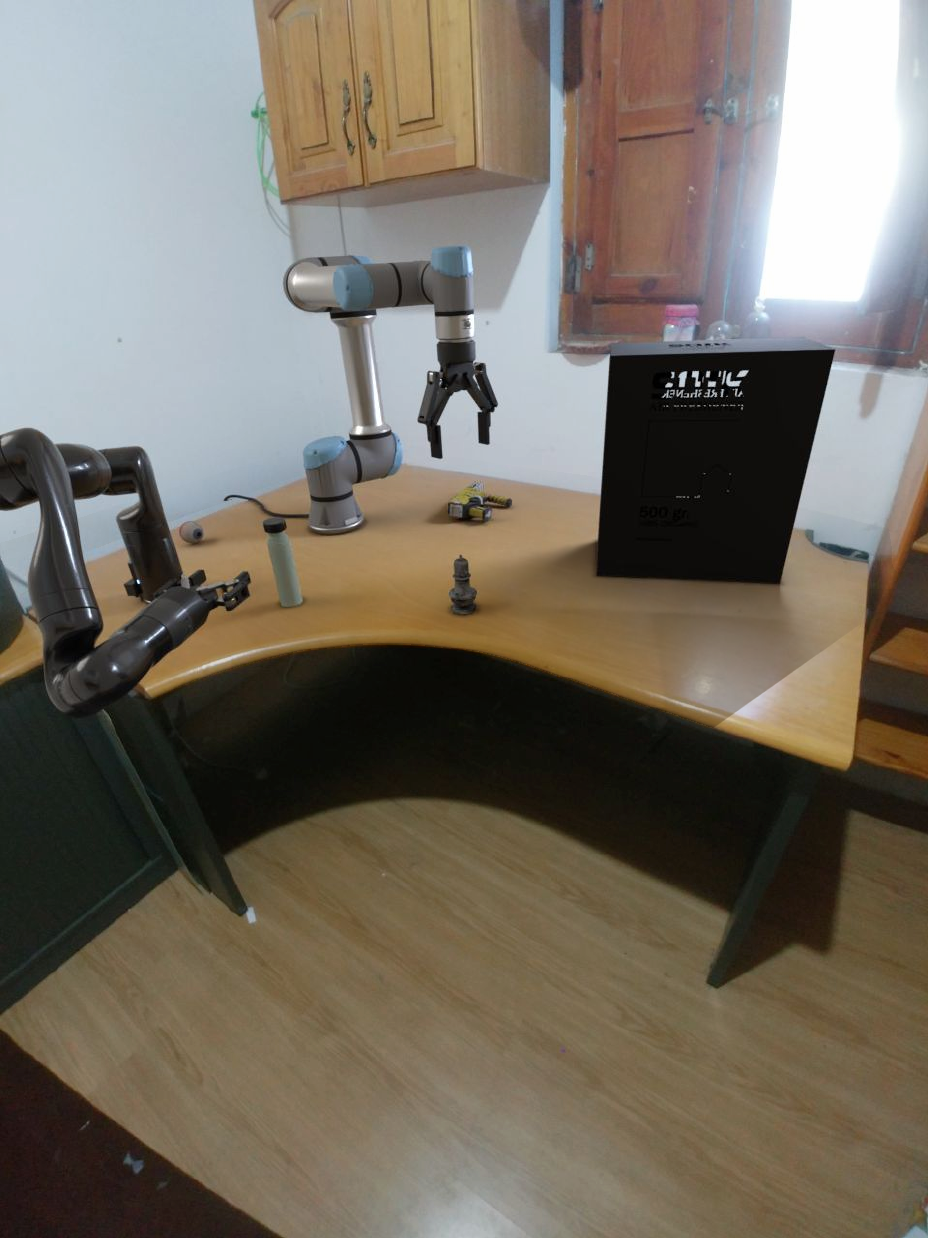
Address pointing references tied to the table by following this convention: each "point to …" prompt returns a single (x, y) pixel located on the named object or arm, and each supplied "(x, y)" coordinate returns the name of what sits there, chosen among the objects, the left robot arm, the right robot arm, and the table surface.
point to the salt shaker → (462, 588)
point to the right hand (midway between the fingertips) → (461, 450)
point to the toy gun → (474, 503)
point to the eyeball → (191, 532)
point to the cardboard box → (707, 456)
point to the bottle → (284, 569)
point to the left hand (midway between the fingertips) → (225, 575)
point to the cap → (274, 525)
